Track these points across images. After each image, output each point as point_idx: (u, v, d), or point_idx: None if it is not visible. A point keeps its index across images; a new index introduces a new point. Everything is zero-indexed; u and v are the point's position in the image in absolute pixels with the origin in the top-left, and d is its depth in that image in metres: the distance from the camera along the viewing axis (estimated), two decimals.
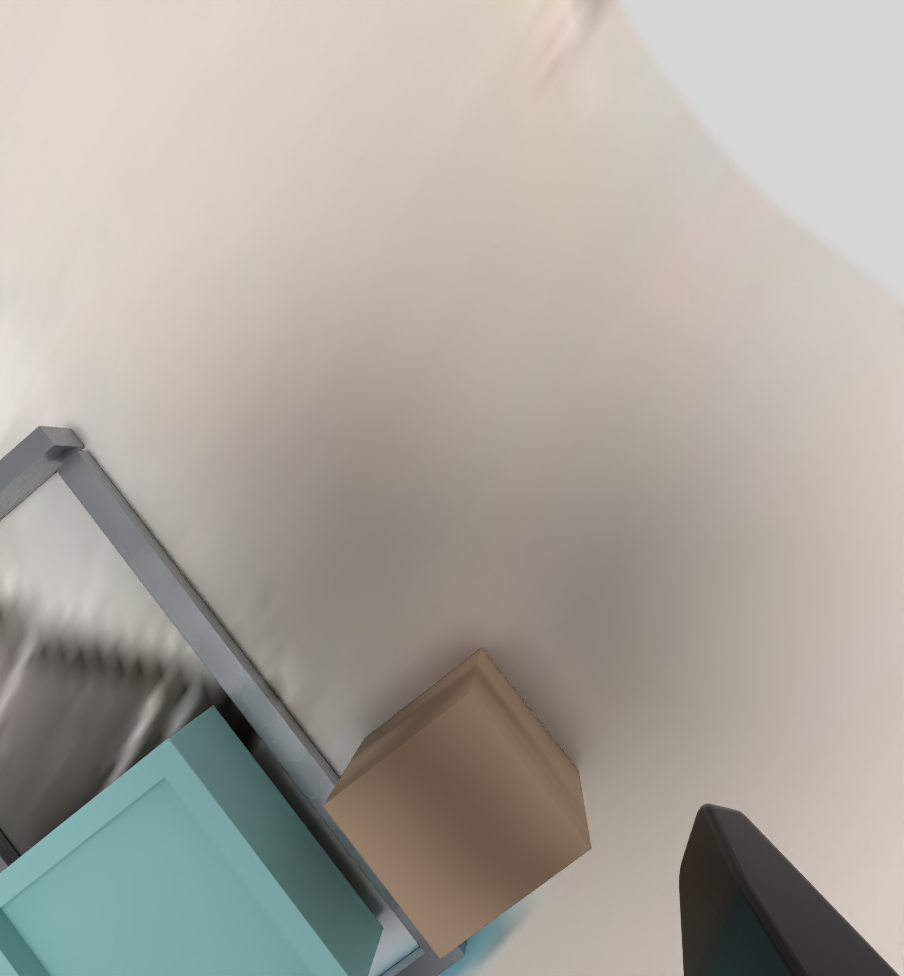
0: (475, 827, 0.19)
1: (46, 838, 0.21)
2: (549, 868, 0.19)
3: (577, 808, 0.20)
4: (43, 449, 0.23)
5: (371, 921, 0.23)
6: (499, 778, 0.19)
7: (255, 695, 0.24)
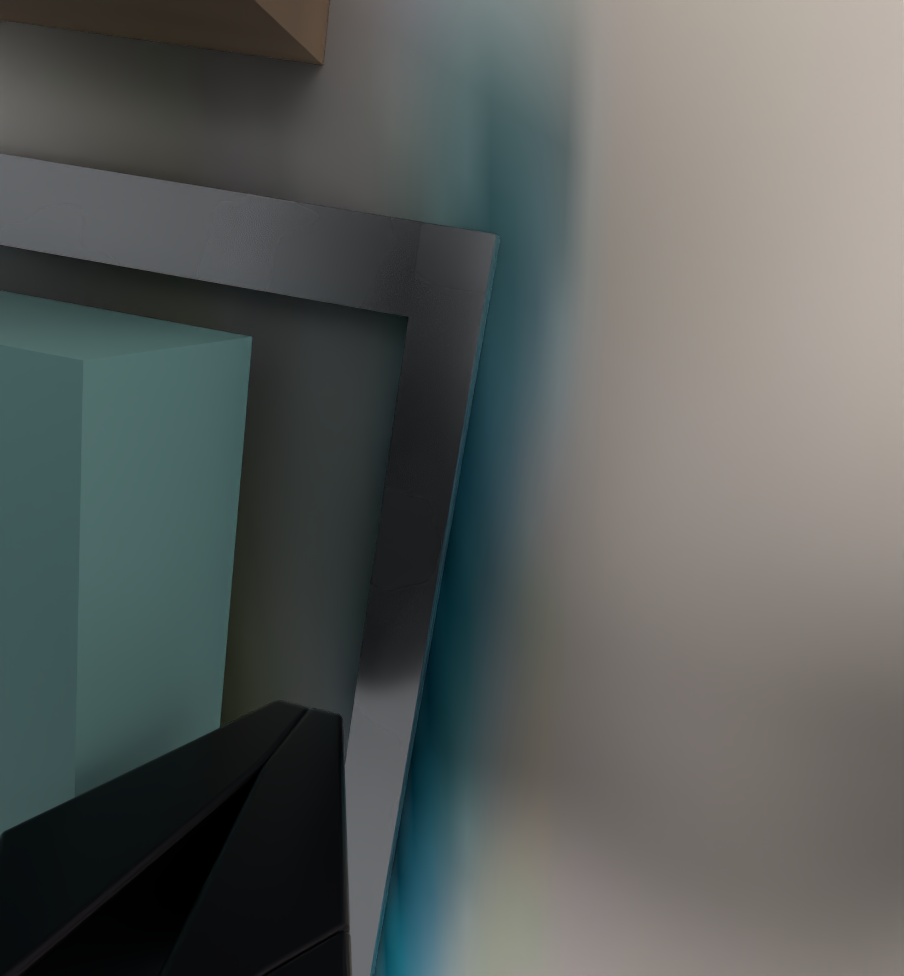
0: None
1: None
2: None
3: None
4: None
5: (194, 330, 0.08)
6: None
7: None
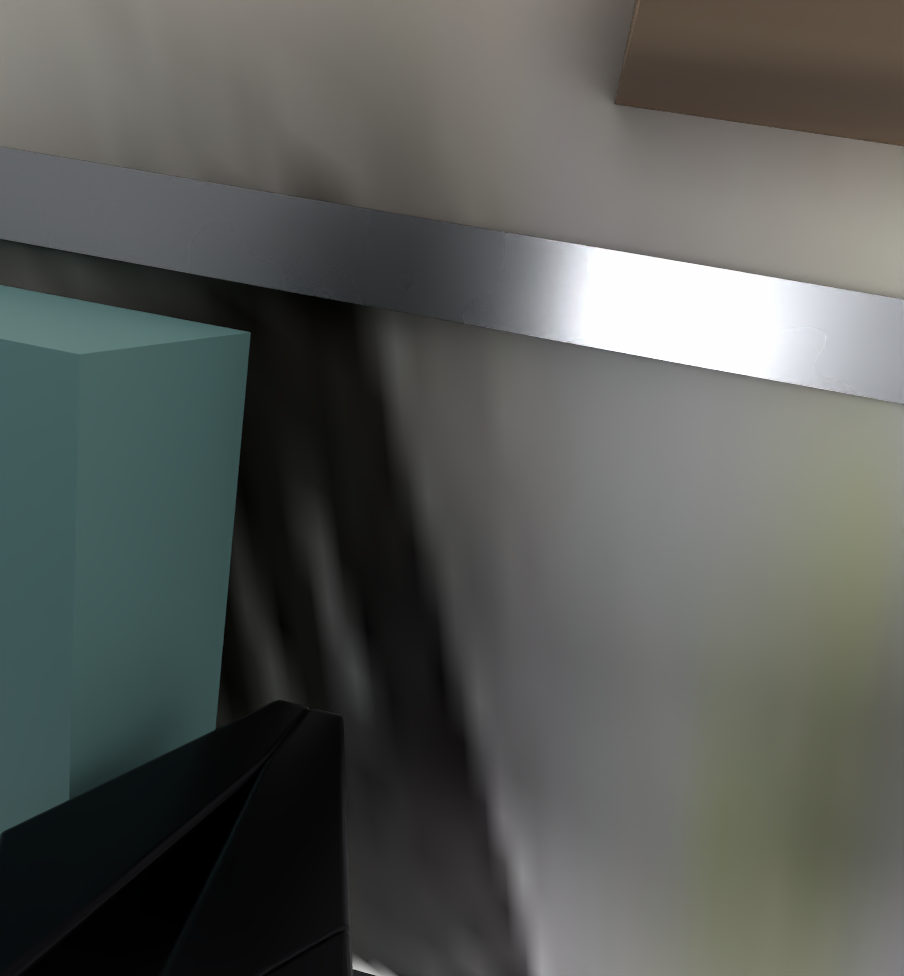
0: None
1: None
2: None
3: None
4: None
5: (193, 325, 0.08)
6: None
7: (273, 219, 0.08)
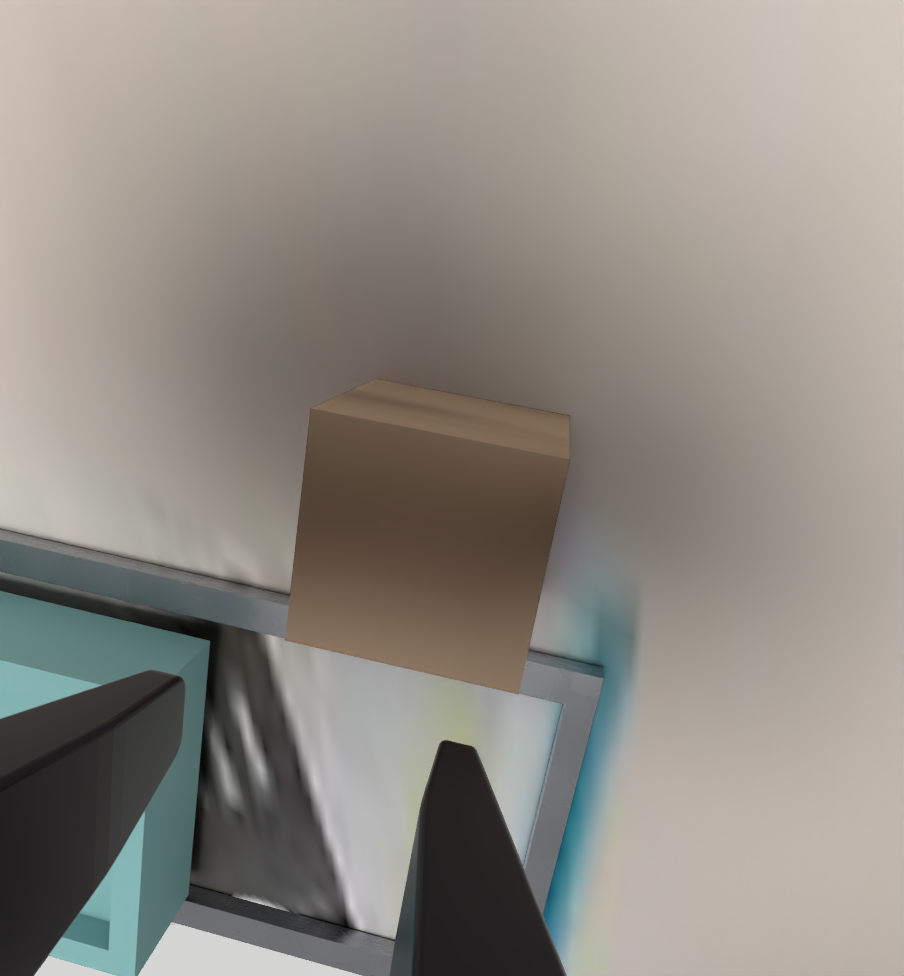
0: (438, 539, 0.14)
1: None
2: (545, 517, 0.14)
3: (550, 438, 0.15)
4: None
5: (186, 642, 0.20)
6: (417, 468, 0.14)
7: (219, 598, 0.20)
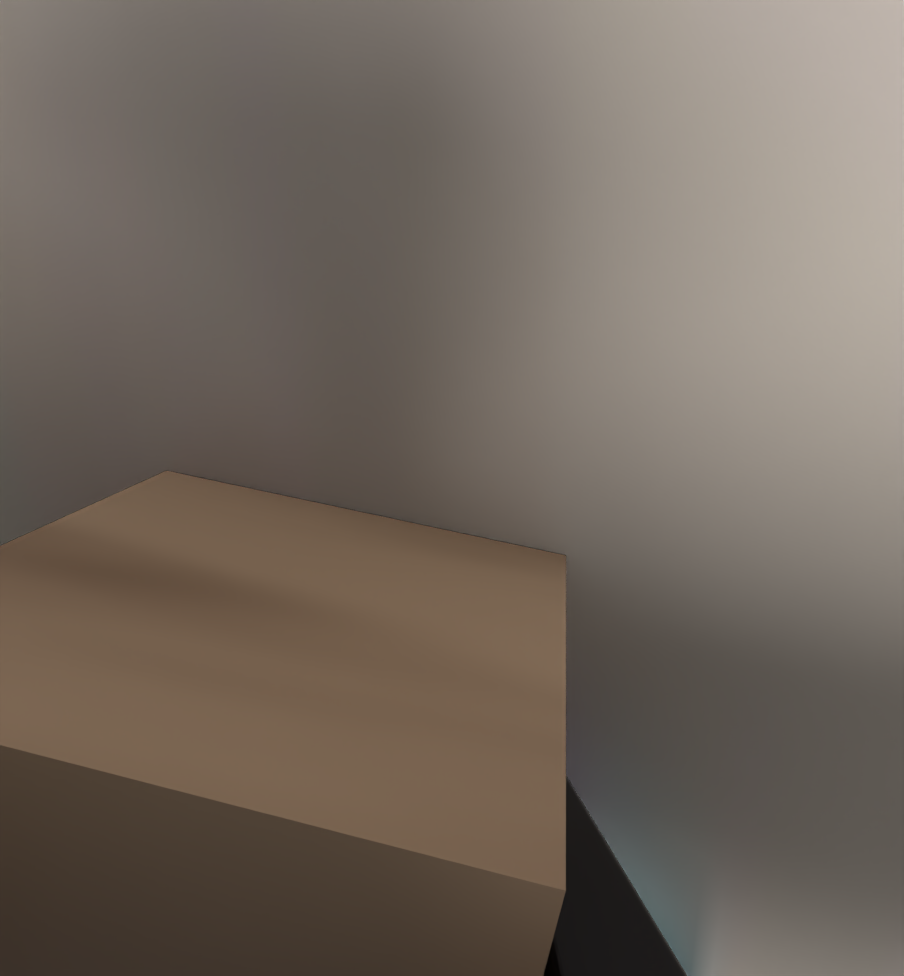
0: None
1: None
2: None
3: (510, 710, 0.05)
4: None
5: None
6: (68, 871, 0.04)
7: None
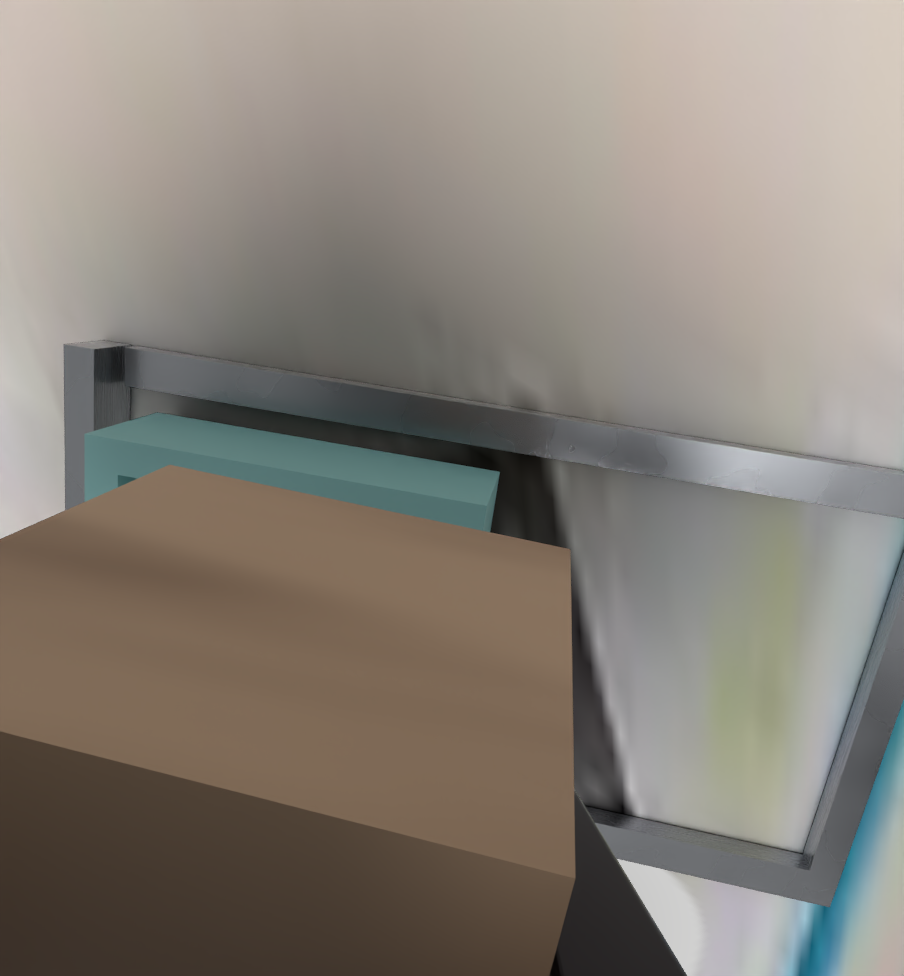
0: None
1: None
2: None
3: (517, 701, 0.05)
4: (88, 363, 0.18)
5: (478, 471, 0.18)
6: (74, 860, 0.04)
7: (511, 421, 0.18)
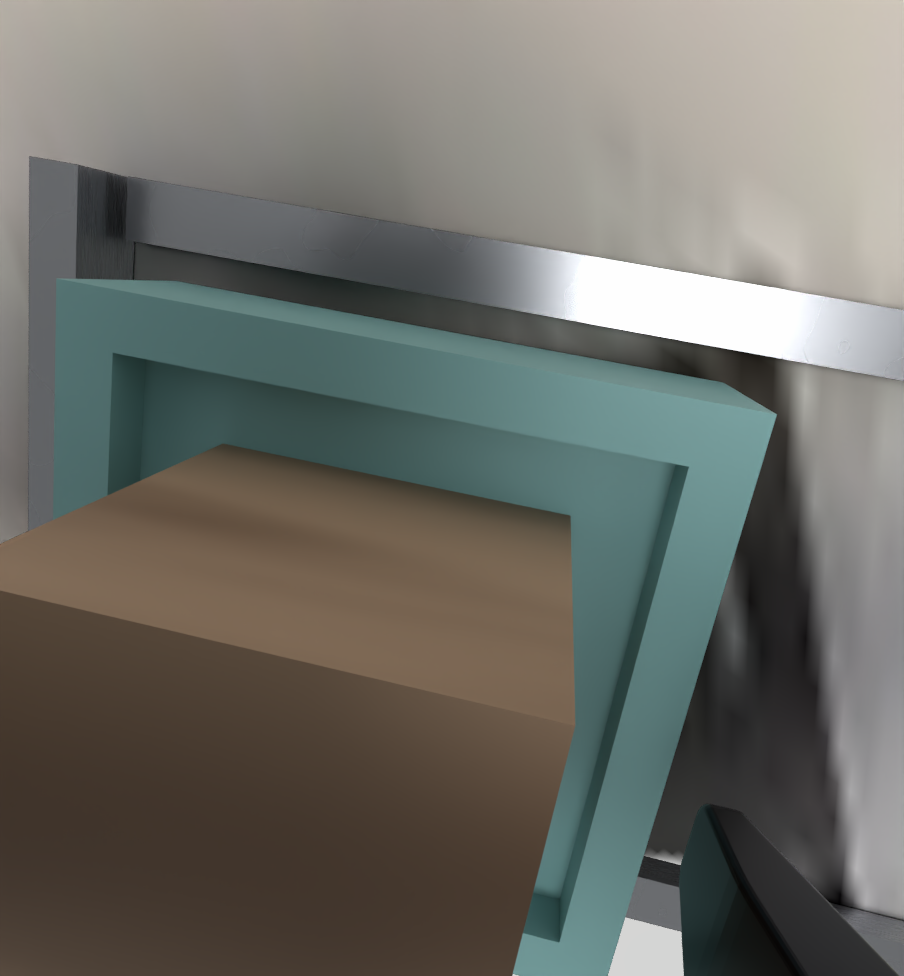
0: (257, 880, 0.06)
1: None
2: (514, 853, 0.06)
3: (529, 619, 0.07)
4: (69, 189, 0.11)
5: (694, 378, 0.11)
6: (196, 725, 0.06)
7: (747, 302, 0.11)
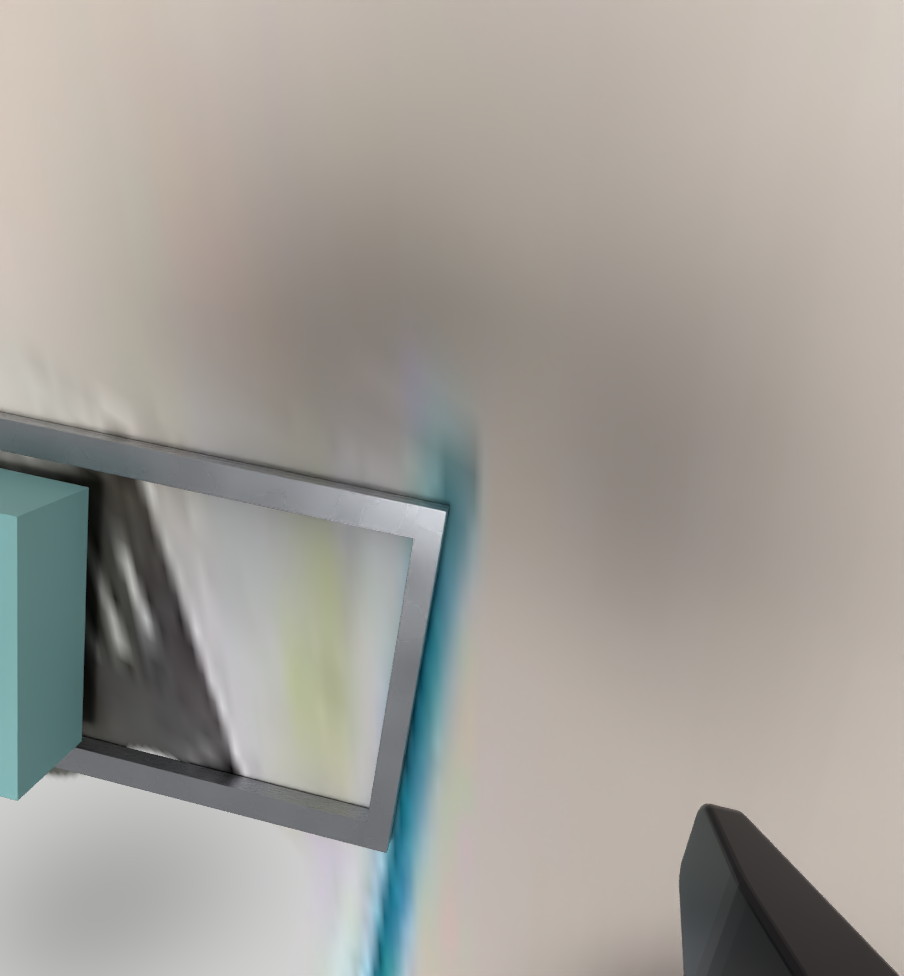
0: None
1: None
2: None
3: None
4: None
5: (65, 486, 0.22)
6: None
7: (96, 447, 0.22)
